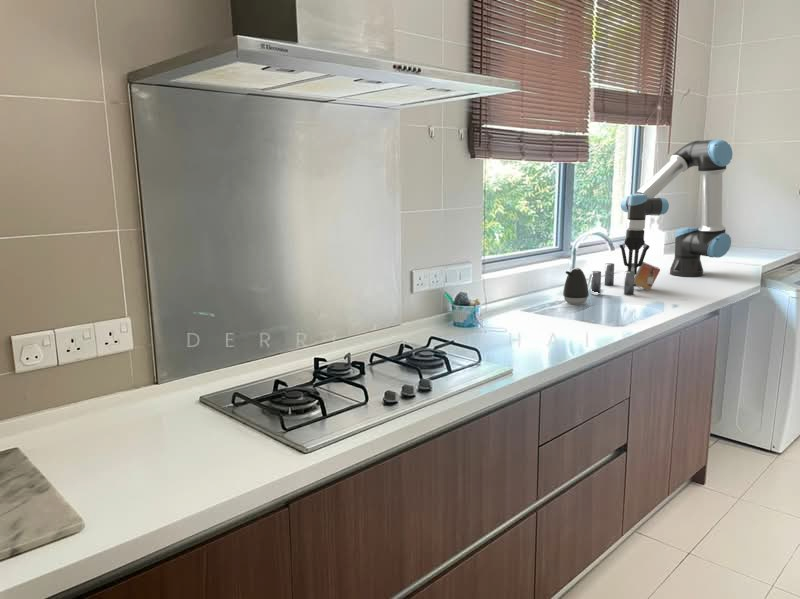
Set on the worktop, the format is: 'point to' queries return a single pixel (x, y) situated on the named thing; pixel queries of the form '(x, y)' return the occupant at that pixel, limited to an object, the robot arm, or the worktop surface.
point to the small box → (646, 275)
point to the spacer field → (610, 279)
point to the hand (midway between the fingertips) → (631, 281)
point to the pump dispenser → (575, 287)
